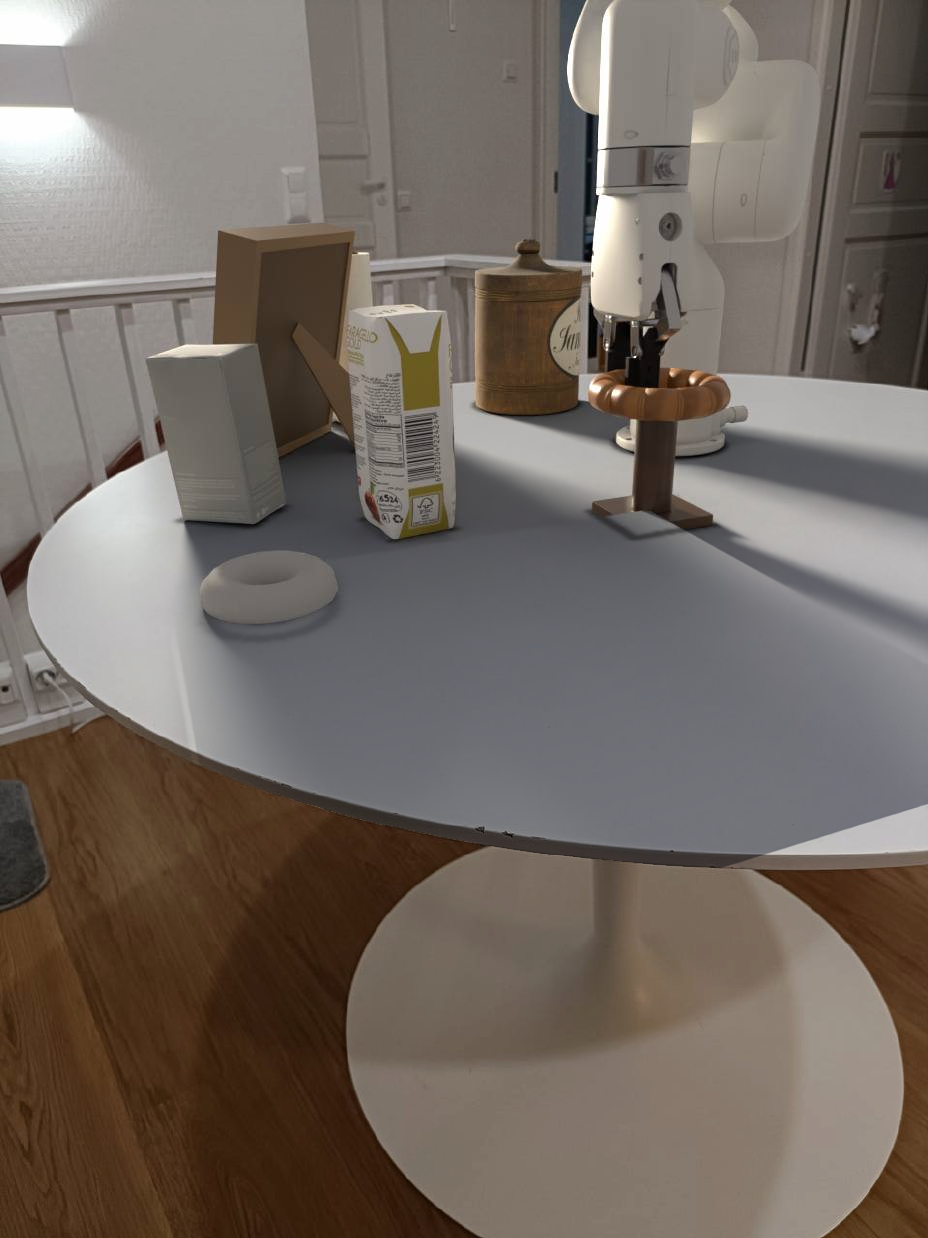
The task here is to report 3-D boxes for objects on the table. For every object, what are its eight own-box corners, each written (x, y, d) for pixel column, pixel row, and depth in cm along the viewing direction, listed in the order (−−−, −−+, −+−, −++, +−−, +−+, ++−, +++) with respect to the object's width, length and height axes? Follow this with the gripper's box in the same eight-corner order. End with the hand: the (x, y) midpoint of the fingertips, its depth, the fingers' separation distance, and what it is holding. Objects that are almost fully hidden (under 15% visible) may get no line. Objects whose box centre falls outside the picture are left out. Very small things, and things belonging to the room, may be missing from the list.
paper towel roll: (389, 417, 121) (378, 250, 112) (362, 427, 117) (348, 253, 108) (348, 412, 125) (335, 250, 116) (320, 421, 120) (304, 253, 111)
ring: (677, 389, 84) (680, 361, 83) (757, 415, 74) (761, 383, 73) (564, 400, 80) (565, 371, 79) (631, 429, 70) (634, 397, 69)
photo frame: (208, 474, 99) (169, 230, 88) (302, 428, 117) (280, 223, 106) (325, 483, 94) (301, 228, 83) (405, 435, 112) (393, 220, 102)
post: (664, 499, 86) (672, 386, 81) (712, 524, 79) (724, 402, 75) (591, 511, 84) (595, 394, 79) (634, 538, 77) (642, 412, 72)
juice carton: (389, 545, 77) (374, 317, 69) (354, 517, 84) (336, 307, 76) (465, 529, 80) (460, 310, 72) (425, 504, 87) (416, 301, 79)
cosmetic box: (287, 506, 87) (268, 341, 81) (249, 530, 81) (224, 354, 75) (215, 499, 90) (189, 339, 83) (172, 522, 84) (141, 351, 77)
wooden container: (584, 414, 120) (589, 239, 110) (475, 417, 120) (471, 242, 111) (573, 392, 133) (577, 234, 124) (475, 394, 134) (472, 237, 124)
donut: (342, 581, 70) (215, 586, 70) (339, 541, 69) (209, 545, 68) (336, 637, 61) (190, 644, 61) (332, 592, 60) (183, 598, 59)
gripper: (741, 169, 67) (717, 411, 75) (631, 176, 81) (621, 379, 89) (656, 171, 65) (640, 420, 73) (558, 178, 79) (554, 386, 87)
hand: (630, 395), depth 81 cm, fingers closed on ring, 3 cm apart
